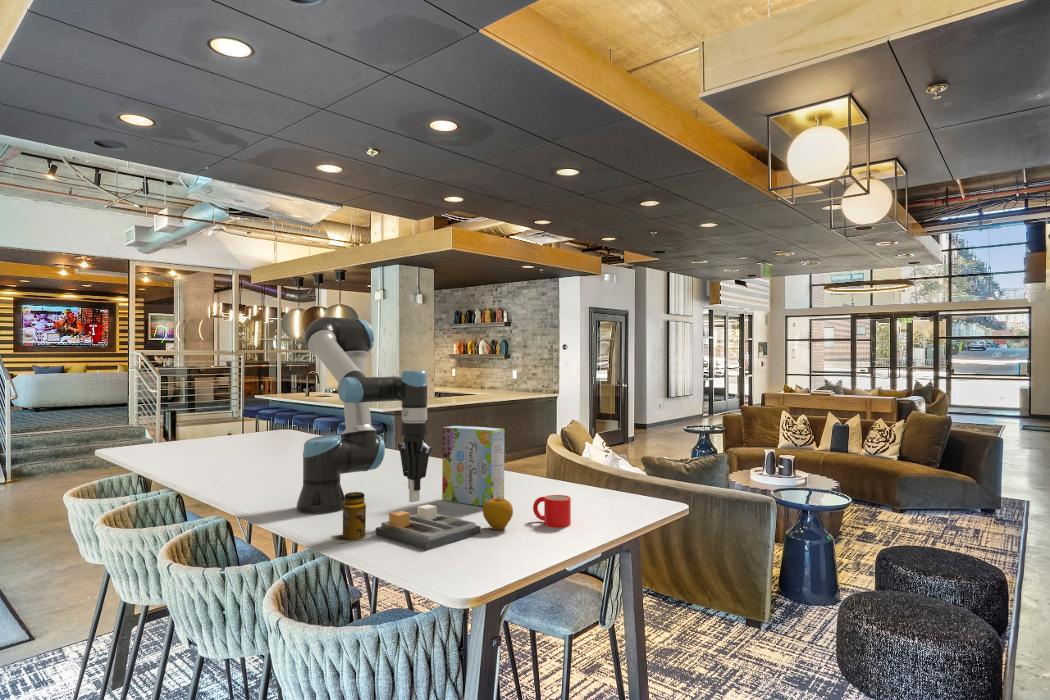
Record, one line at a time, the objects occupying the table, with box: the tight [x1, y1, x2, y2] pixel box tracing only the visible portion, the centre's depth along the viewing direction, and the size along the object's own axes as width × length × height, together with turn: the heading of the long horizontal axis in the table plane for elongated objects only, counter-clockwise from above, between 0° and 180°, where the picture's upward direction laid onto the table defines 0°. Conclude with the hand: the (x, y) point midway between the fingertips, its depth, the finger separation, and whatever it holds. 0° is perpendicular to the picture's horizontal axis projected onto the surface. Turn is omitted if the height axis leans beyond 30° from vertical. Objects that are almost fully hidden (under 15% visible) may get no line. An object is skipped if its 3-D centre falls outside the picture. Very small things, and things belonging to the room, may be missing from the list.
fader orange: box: [388, 510, 411, 527], centre depth 167 cm, size 4×4×4 cm
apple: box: [482, 498, 514, 531], centre depth 173 cm, size 9×9×9 cm
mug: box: [532, 494, 572, 529], centre depth 180 cm, size 8×12×8 cm, turn 65°
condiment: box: [331, 491, 370, 544], centre depth 164 cm, size 7×8×12 cm
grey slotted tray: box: [375, 513, 482, 551], centre depth 167 cm, size 21×20×3 cm
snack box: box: [441, 425, 506, 507], centre depth 207 cm, size 22×9×26 cm, turn 58°
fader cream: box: [416, 504, 438, 520], centre depth 175 cm, size 4×4×4 cm
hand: (414, 501), depth 179 cm, fingers closed
